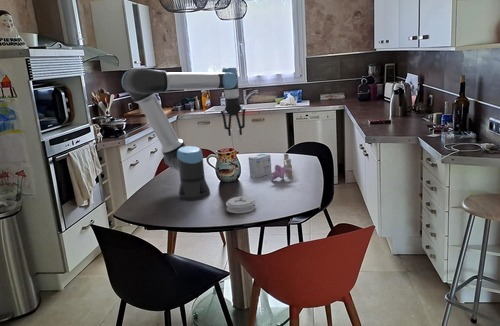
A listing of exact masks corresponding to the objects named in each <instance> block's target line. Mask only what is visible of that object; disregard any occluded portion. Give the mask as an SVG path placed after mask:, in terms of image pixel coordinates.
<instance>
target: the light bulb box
mask: <svg viewBox="0 0 500 326" xmlns="http://www.w3.org/2000/svg"><path fill="white" fill-rule="evenodd" d="M247 158H248V166H249V176H250V177H253V178H260V177H264V176H267V175H269V174H271V173H273V172H272V160H271V154H268V153H259V154H256V155H252V156H248V157H247Z"/></svg>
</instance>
